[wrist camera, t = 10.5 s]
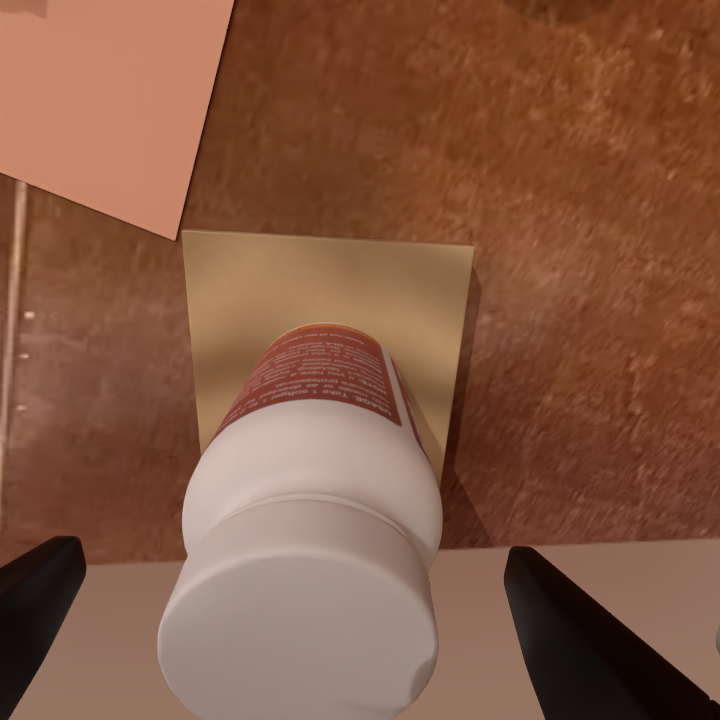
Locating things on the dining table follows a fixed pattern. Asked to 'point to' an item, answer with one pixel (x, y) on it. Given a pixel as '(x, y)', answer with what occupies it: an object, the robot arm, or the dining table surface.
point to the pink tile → (109, 100)
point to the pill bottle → (308, 543)
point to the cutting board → (326, 311)
